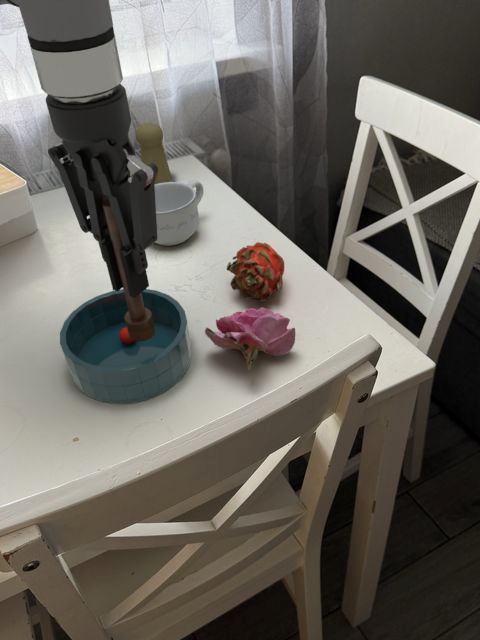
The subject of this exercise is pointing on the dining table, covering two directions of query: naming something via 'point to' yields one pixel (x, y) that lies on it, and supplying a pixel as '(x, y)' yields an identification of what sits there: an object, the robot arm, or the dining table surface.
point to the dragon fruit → (257, 271)
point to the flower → (254, 333)
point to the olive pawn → (153, 150)
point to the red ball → (125, 336)
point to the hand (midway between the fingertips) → (131, 287)
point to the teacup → (177, 211)
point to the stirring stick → (137, 315)
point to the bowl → (125, 348)
